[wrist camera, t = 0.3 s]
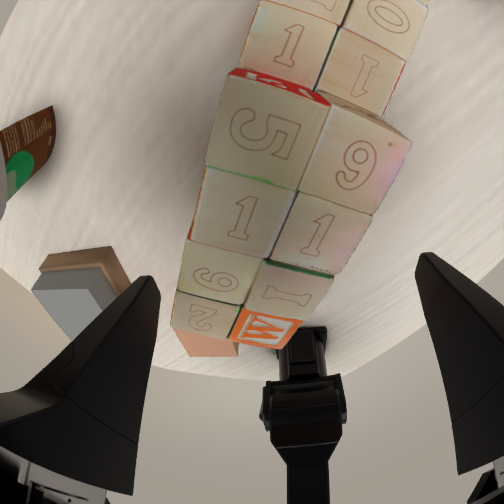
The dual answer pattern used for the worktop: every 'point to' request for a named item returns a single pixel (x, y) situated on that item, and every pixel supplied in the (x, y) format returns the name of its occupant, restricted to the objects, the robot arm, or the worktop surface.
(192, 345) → the terracotta block
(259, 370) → the worktop surface
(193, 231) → the stack of blocks
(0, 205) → the food container
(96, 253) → the tower base
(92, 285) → the tower top
